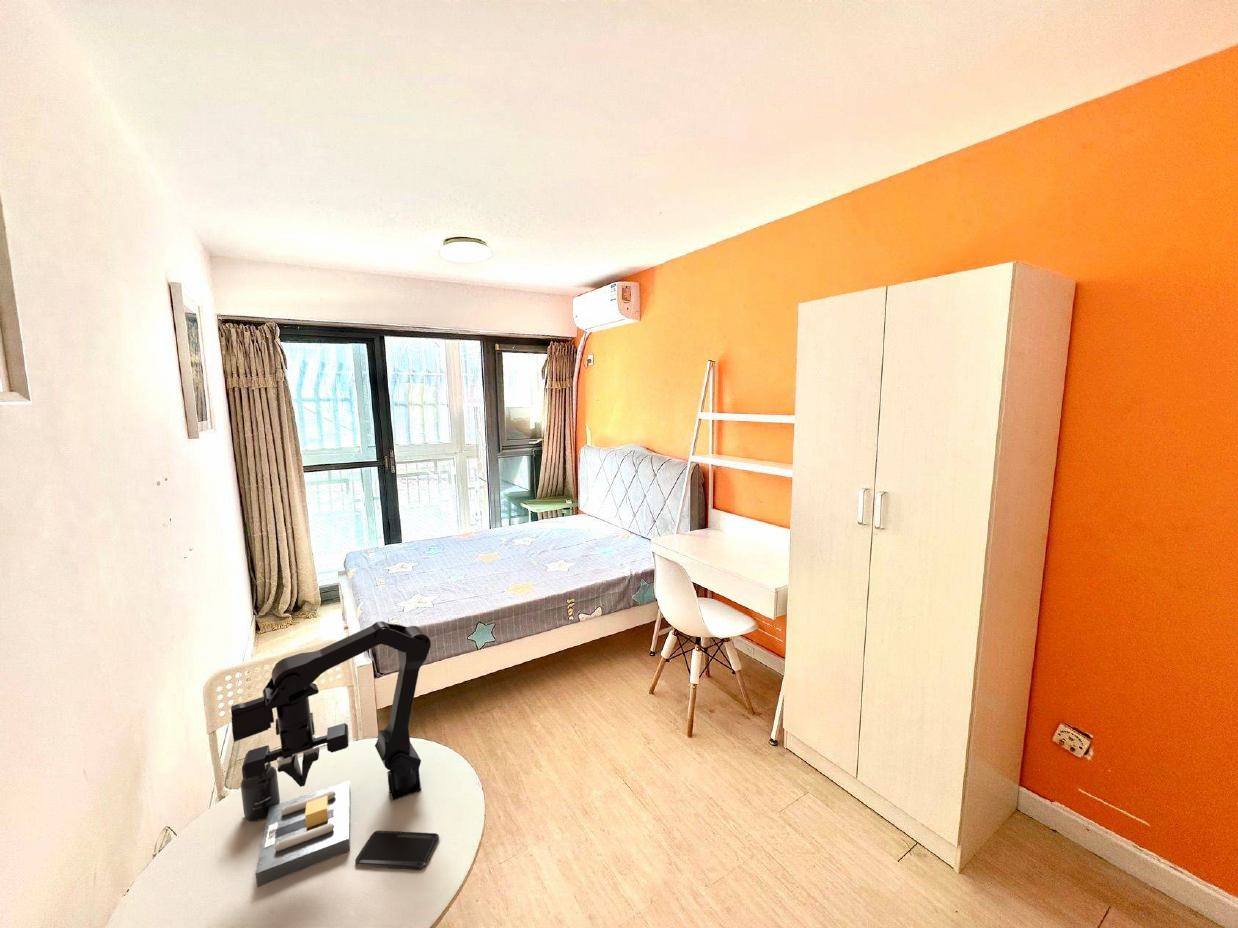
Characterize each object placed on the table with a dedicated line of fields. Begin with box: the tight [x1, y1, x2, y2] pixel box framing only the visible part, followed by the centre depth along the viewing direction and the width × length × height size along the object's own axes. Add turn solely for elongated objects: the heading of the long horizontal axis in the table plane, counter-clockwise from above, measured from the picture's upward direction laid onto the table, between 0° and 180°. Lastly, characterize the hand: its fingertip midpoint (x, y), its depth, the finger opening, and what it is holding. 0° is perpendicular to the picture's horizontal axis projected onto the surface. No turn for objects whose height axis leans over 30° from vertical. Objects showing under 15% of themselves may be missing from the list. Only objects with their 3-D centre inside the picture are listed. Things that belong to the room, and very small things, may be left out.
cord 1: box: [275, 823, 334, 851], centre depth 104 cm, size 11×2×2 cm, turn 118°
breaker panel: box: [255, 780, 352, 888], centre depth 109 cm, size 16×18×3 cm
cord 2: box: [281, 791, 336, 815], centre depth 113 cm, size 11×2×2 cm, turn 118°
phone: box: [354, 829, 440, 871], centre depth 104 cm, size 8×1×15 cm
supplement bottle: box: [240, 762, 281, 822], centre depth 115 cm, size 7×7×12 cm
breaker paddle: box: [305, 795, 329, 828], centre depth 109 cm, size 4×4×3 cm
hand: (302, 784), depth 107 cm, fingers closed
